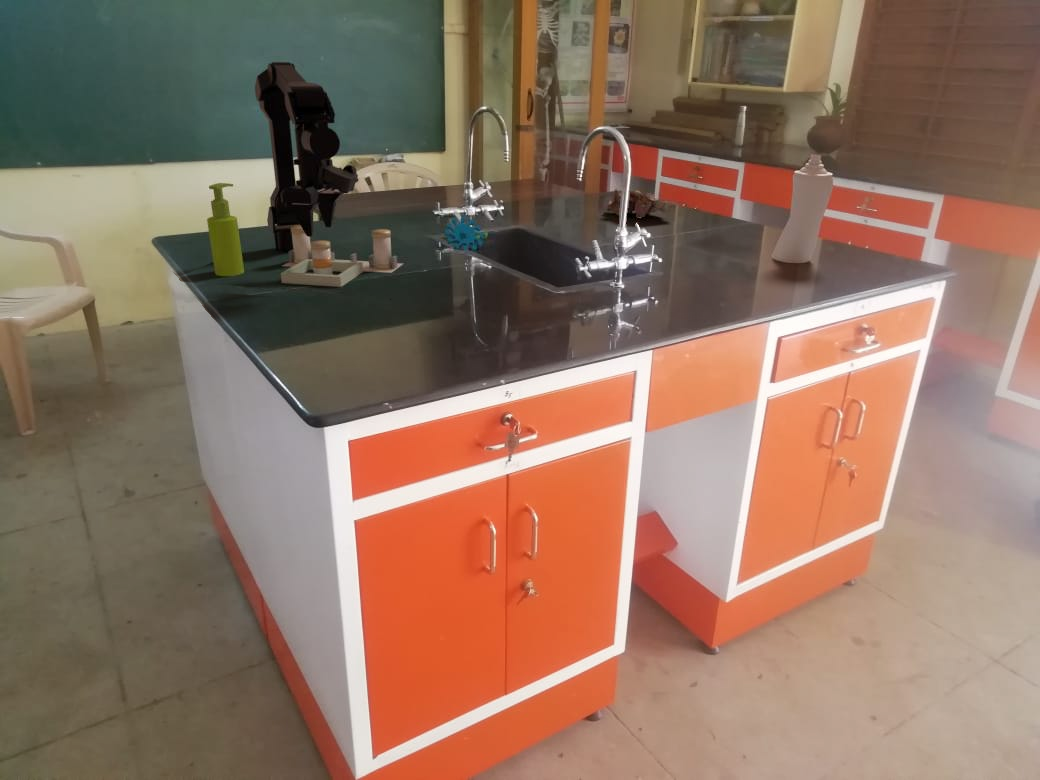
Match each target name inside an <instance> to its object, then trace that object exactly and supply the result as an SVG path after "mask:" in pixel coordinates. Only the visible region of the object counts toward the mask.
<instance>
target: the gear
mask: <svg viewBox="0 0 1040 780" xmlns="http://www.w3.org/2000/svg"><path fill="white" fill-rule="evenodd" d="M458 221H459V220H458V218H457V217H454V218H452V219H451V222H447V224H446V225H445V228H446V229H445V231H444V236H446V237H447V241H446V242H447V244H449V245H451V244H453V243H455V244H454V245H453V249H454V250H456V251H459V249H460V247H463V245H464V247H463V248H462V251H469V245H471V250H470V251H474V252H475V251H477V249H478V247H482V245H483V242H484V240H485V239H488V238H487V237H488V235H489V233H488V232H487V231H485V232H484V233H483V232H481V230H482V227H481V225H480V224H478V225H475V223H476V222H475V220H474V219H473V218H471V219H470V220H469V222H468V223H466V222H467V217H465V216H461V217H460V223H459V224H458ZM452 224H453V226H454V227H453V226H452ZM474 225H475V226H474ZM450 231H451V232H450ZM475 243H476V244H475Z"/></svg>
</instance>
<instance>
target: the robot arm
mask: <svg viewBox="0 0 1040 780" xmlns="http://www.w3.org/2000/svg"><path fill="white" fill-rule="evenodd" d="M254 91H255V97H256V101H257V102H258V103H259V108H260V110H261V112H262V113H263V114H264V116H265V117H266V119H267V120H268V127H269V136H270V143H271V145H270V146H271V154H272V155H271V156H272V163H273V164H272V165H273V171H274V173H273V174H274V179H275V180H274V182H275V187H274V189H273V191H272V194H271V196H270V197H269V199H270V200H269V201H270V206H269V207H268V210H267V211H268V213H267V220H266V221H267V222H266V223H267V227H268V231H270V232H271V233H272V234H273V237H274V244H275V245H274V246H275V251H278V252H282V253H288V252H289V251H291V250H293V241H292V232H291V227H292V226H296V225H300V226H301V227H302V229H303V231H304V232H305V234H306V236H308V237H310V238H311V237H313V234H314V210H315V209H316V208H318V210H319V214H320V216H321V218H322V222H323V223H324V226H325V227H326V228H328V229H329V228H331V227H332V225H333V220H334V214H335V210H336V204H337V202H338V200H339V199H340V198H341V197H342V196H343V195H344V194H345V195H346V194H347V195H348V194H349V193H350V192H354V190H355V186H356V183H358V182H359V178H358V177H359V174H358V173H357V170H356V169H357V168H356V166H354V165H352V164H347V165H345V166H344V167H343V168H342V167H337V166H334V164H333V159H332V158H333V157H334V156H336V155H337V153H338V152H339V150H340V147H341V143H340V138H339V135H338V134H337V132H336V131H334V130H333V129H332V128H331V127H329V124H334V123H335V117H336V113H335V110H334V107H333V105H332V102H331V99H330V98H329V95H328V92H326V91H325V89H324V87H322V85H320V84H318V83H313V82H308V81H306V80H305V78H303V77H302V75H301V74H300V73H299V72H298V70H296V67H295V64H294V63H292V62H290V61H271V62H269V63H268V64H267V68H266V69H265V70H263V71H262V72H260V74H258V75H257V76H256V80H255V83H254ZM291 123H292V124H293V125H294V137H295V138H294V139H295V147H296V148H295V149H296V157H297V158H294V152H293V142H292V131H291ZM295 166H297V169H298V174H299V175H298V176H299V179H298V180H296V174H295Z"/></svg>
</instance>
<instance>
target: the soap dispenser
mask: <svg viewBox="0 0 1040 780" xmlns="http://www.w3.org/2000/svg"><path fill="white" fill-rule="evenodd" d="M233 186H234V184H233V183H228V182H227V183H224V182H218V183H214V184H210V185H209V186H208V188H209V190H213V196H214V199H213V200H211V201H210V204H211V205H210V206H211V213H212V216H210V217H208V218H206V223H207V229H208V235H209V242H210V247H211V255H212V261H213V267H214V275H216V276H220V277H231V276H232V277H234V276H238V275H239V276H240V275H241V274H244V273H245V270H244V269H245V268H244V261H243V260H244V259H243V254H242V246H241V239H240V233H239V223H238V218H237V216H234V215H231V212H230V211H231V210H230V205H229V201H228V200H226V199H225V198H224V194H223V189H224V188H227V187H233Z"/></svg>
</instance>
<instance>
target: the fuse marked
mask: <svg viewBox="0 0 1040 780" xmlns="http://www.w3.org/2000/svg"><path fill="white" fill-rule="evenodd" d="M310 245H311V252H312V261H313V268H314V270H313V274H324V275H334V274H333V271H332V259H331V252H332V251H331V247H332V246H331V241H329V240H314V241H310Z"/></svg>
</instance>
